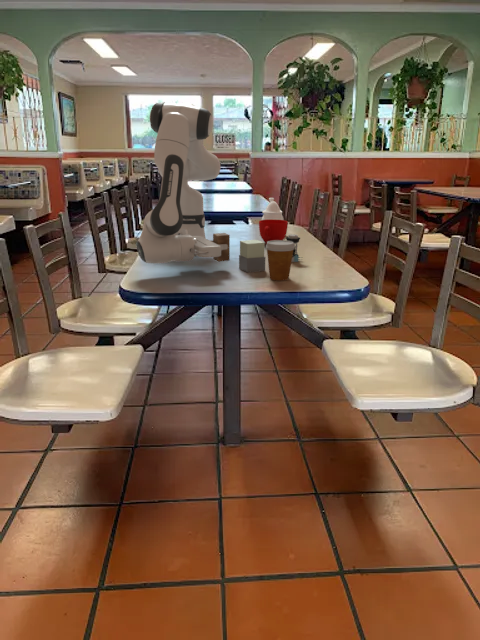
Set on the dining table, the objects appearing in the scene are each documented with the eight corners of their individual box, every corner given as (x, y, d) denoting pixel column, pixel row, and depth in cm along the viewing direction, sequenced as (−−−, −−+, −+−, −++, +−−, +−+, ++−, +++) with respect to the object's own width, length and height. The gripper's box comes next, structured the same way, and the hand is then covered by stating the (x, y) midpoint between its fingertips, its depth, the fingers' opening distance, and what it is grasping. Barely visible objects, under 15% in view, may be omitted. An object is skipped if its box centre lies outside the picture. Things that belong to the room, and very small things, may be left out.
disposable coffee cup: (263, 275, 169) (263, 240, 165) (290, 274, 169) (292, 239, 166) (266, 282, 160) (267, 245, 156) (296, 281, 160) (297, 244, 157)
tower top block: (247, 258, 171) (247, 244, 170) (239, 254, 177) (240, 240, 175) (264, 256, 174) (264, 242, 172) (256, 253, 179) (256, 239, 178)
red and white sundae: (255, 234, 251) (255, 197, 245) (277, 232, 256) (278, 196, 250) (266, 238, 240) (267, 200, 234) (289, 236, 245) (291, 199, 239)
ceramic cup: (251, 246, 219) (251, 223, 216) (264, 240, 234) (264, 218, 231) (279, 248, 214) (280, 225, 211) (290, 242, 229) (291, 220, 226)
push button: (301, 259, 193) (302, 234, 189) (303, 262, 188) (304, 236, 184) (284, 259, 193) (285, 234, 189) (285, 262, 188) (286, 236, 184)
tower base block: (247, 272, 172) (247, 258, 171) (239, 268, 179) (239, 254, 177) (265, 271, 175) (265, 257, 174) (256, 266, 181) (256, 253, 180)
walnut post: (217, 261, 172) (217, 235, 169) (213, 259, 176) (213, 233, 173) (229, 260, 174) (229, 234, 171) (224, 258, 178) (224, 232, 175)
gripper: (195, 244, 158) (235, 241, 163) (176, 233, 176) (213, 231, 181) (196, 263, 160) (235, 259, 166) (177, 251, 178) (213, 248, 183)
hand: (223, 244), depth 173 cm, fingers closed on walnut post, 4 cm apart
